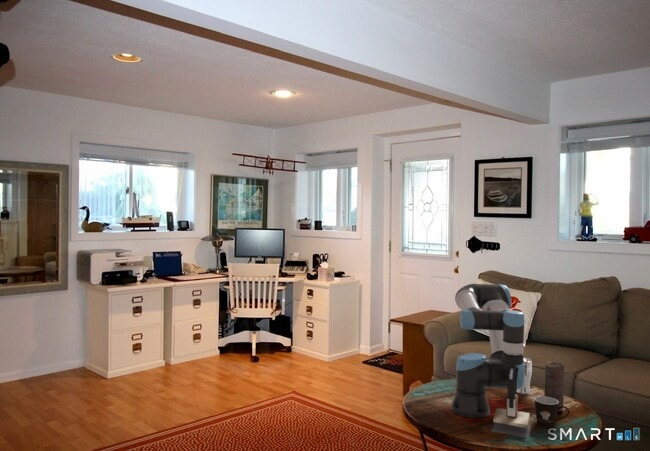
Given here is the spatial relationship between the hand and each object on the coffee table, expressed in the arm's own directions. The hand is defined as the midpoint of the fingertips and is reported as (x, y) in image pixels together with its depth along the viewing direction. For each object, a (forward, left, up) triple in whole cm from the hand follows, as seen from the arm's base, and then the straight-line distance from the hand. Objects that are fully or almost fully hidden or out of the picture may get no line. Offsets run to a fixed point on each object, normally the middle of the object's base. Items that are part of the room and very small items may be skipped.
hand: (511, 413), depth 200 cm
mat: (0, 0, -6) cm, 6 cm away
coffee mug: (+13, +8, -6) cm, 16 cm away
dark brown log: (+14, +27, -6) cm, 31 cm away
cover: (0, 0, -2) cm, 2 cm away
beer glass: (+1, +45, -6) cm, 45 cm away
